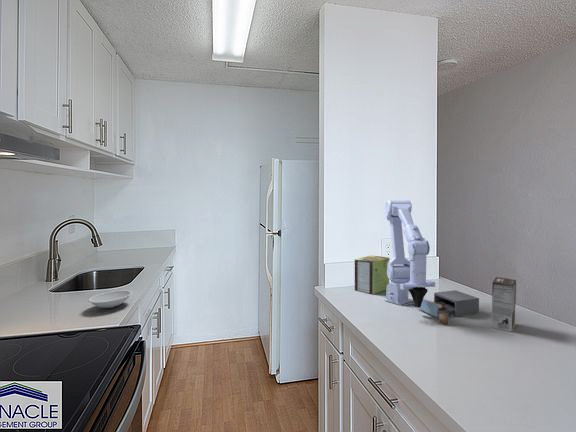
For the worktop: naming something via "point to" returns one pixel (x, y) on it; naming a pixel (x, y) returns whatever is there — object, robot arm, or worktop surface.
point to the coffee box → (503, 304)
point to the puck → (440, 305)
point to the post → (443, 318)
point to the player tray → (435, 307)
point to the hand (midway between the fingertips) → (417, 306)
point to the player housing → (459, 302)
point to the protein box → (371, 274)
